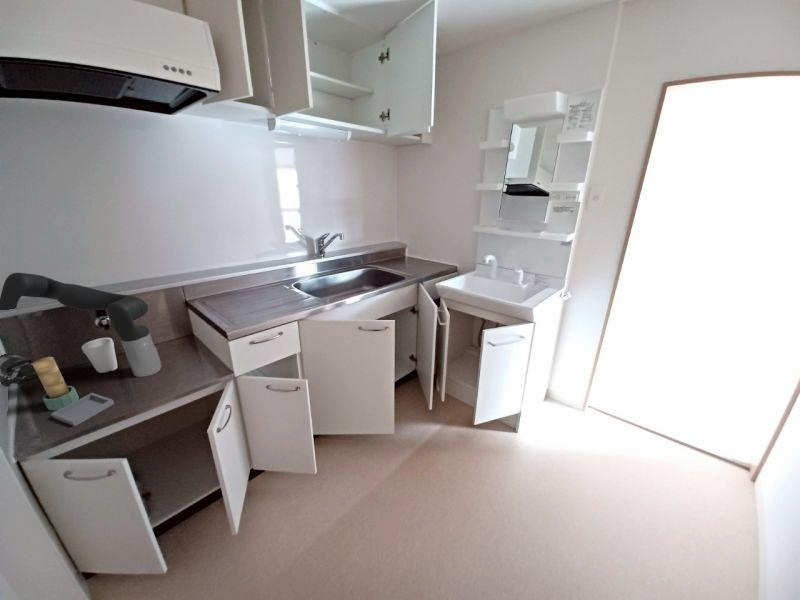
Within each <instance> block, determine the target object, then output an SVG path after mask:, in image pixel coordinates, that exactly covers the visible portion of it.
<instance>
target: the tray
mask: <svg viewBox="0 0 800 600" xmlns="http://www.w3.org/2000/svg"><path fill="white" fill-rule="evenodd" d="M114 404H115V402H114V399H112V398H109V397H106V396H103V395H99V394H97V393H94V392H90V393H89V394H87V395H85V396H83V397H81V398H78V400H77V401H75V402H73V403H71V404H69V405H67V406H65V407H63V408H61V409H59V410H54V412H53V411H52V413H50V414H51V417H52V418H53V419H55V420H58V421H60V422H63V423H66V424H68V425H71V426H74V427H76V426H78V425H79V424H82V423H83V422H85V421H86V420H88V419H90V418H92V417H93V416H95V415H97V414H99V413H101V412H103V411H104V410H106V409H108V408H110V407H111V406H113V405H114Z"/></svg>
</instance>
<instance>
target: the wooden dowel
mask: <svg viewBox="0 0 800 600" xmlns="http://www.w3.org/2000/svg"><path fill="white" fill-rule="evenodd" d="M54 359H55V358H54V357H53V356H46V357H42V358H39V359H37V360H35V361H34V360H33V361H34V362H33V363H32V365H33V367H34V369H35V371H36V373H35V374H36V375H37V377H38V379H39V381H40V382H41V384H42V386H43V388H44V390H45V392H46V394H48V396H49V398H50V399H54V398H58V397H61V396H63V395H66V394H67V393H69V389H68V387H67V386H68V385H67V383H66V381H65V379H64V377H63V375H62V373H61V371H60V369H59V366H58V367H57V364H56V362H55V360H54Z"/></svg>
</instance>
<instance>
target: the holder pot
mask: <svg viewBox="0 0 800 600" xmlns="http://www.w3.org/2000/svg"><path fill="white" fill-rule="evenodd" d="M67 387H68V389H69V393H67V394H66V395H63V396H61V397H58V398H54V399H50V398H49V396H48V394H47V393H46V394H44V395H43V397H42V399H41V400H43V403H44V404H45V406H46V408H47V409H48V410H49V411H57V410H59V409H61V408H63V407H65V406H67V405H69V404H71V403H73V402H75V401H77V400H79V399H80V396H79V395H78V392H77V390H76V389H75V387H74V386H72V385H67Z"/></svg>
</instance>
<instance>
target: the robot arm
mask: <svg viewBox="0 0 800 600" xmlns="http://www.w3.org/2000/svg"><path fill="white" fill-rule="evenodd" d="M0 292H1V293H0V310H9V309H15V308H17V309H18V303H19V301H20V300H21V298H22V297H29V298H30V297H31V298H42V299H50V300H55V301H57V302H58V303H59V304H61V305H63V306H65V307H69V308H72V309H76V310H79V311H106V313H107V316H108V319H109V321H110V323H111V326H112V327H113V329H114V331H115V334H116V335H117V336H118V337H119V338H120V339H119V340H120V341H121V344H122V347H123V349H124V351H125V355H126V357H127V361H128V364H129V366H130V369H131V370H132V373H133V376H135V377H138V378H140V377H141V378H142V377H146V376H149V377H150V376H153V375H154V374H156V373H158V372H159V371H160V370H161V368H162V362H161V358H160V355H159V352H158V348H157V346H155V345H154V342H153V339H152V335H151V333H150V330H149V328H148V326H146V325H143V324H141V325H140V324H138V325H135V323H134V321H136V320H138V319H140V318H142V317H144V316H145V315H146V314H147V313H148V311H149V305H148V304H147V303H146V302H145V301H144V300H143V299H142V298H140V297H138V296H134V295H128V294H121V293H120V294H119V293H112V292H109V291H103V290H99V289H95V288H92V287H88V286H85V285H84V286H83V285H79V284H76V283H75V284H74V283H66V282H61V281H58V280H55V279H54V278H53V279H52V278H50V277H47V276H45V275H42V274H41V275H40V274H34V273H33V274H32V273H26V272H13V273H10V274H9V275H8V276H7V277H6V279H5V280H4V283H3V285H2V290H1V291H0ZM54 360H55V362H56V364H57V367H58V368H59V363H58V360H57V359H56V358H54ZM33 362H34V360H32V359H30V358H26V357H23V356H19V355H14V354H12V355H11V354H4V355H1V356H0V369H1V372H2V374H3V375H0V382H1V384H2V385H1V384H0V385H1V386H3V387H5V388H6V387H7V388H8V387H10V386H11V385H18V386H21V385H22V386H24V385H27V383H26V381H25V379H24V378H27V377H29V376H30V375H32V374H37V373H36V371H35V369H34V367H33V365H32V363H33Z"/></svg>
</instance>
